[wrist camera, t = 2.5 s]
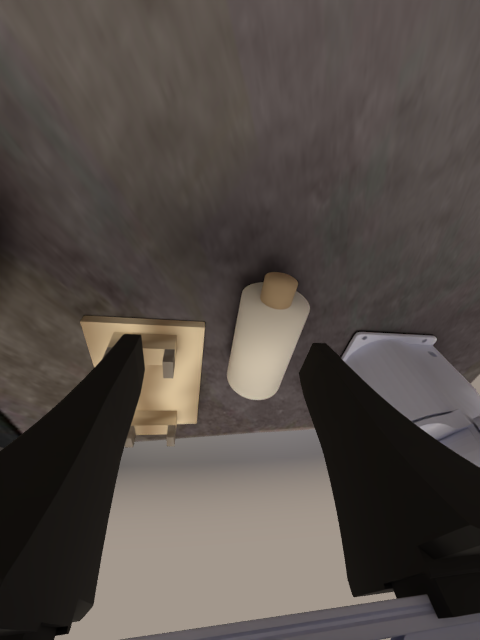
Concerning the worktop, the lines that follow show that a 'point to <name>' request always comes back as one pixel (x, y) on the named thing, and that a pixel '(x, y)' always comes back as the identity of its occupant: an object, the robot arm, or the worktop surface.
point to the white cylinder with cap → (266, 335)
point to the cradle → (156, 369)
